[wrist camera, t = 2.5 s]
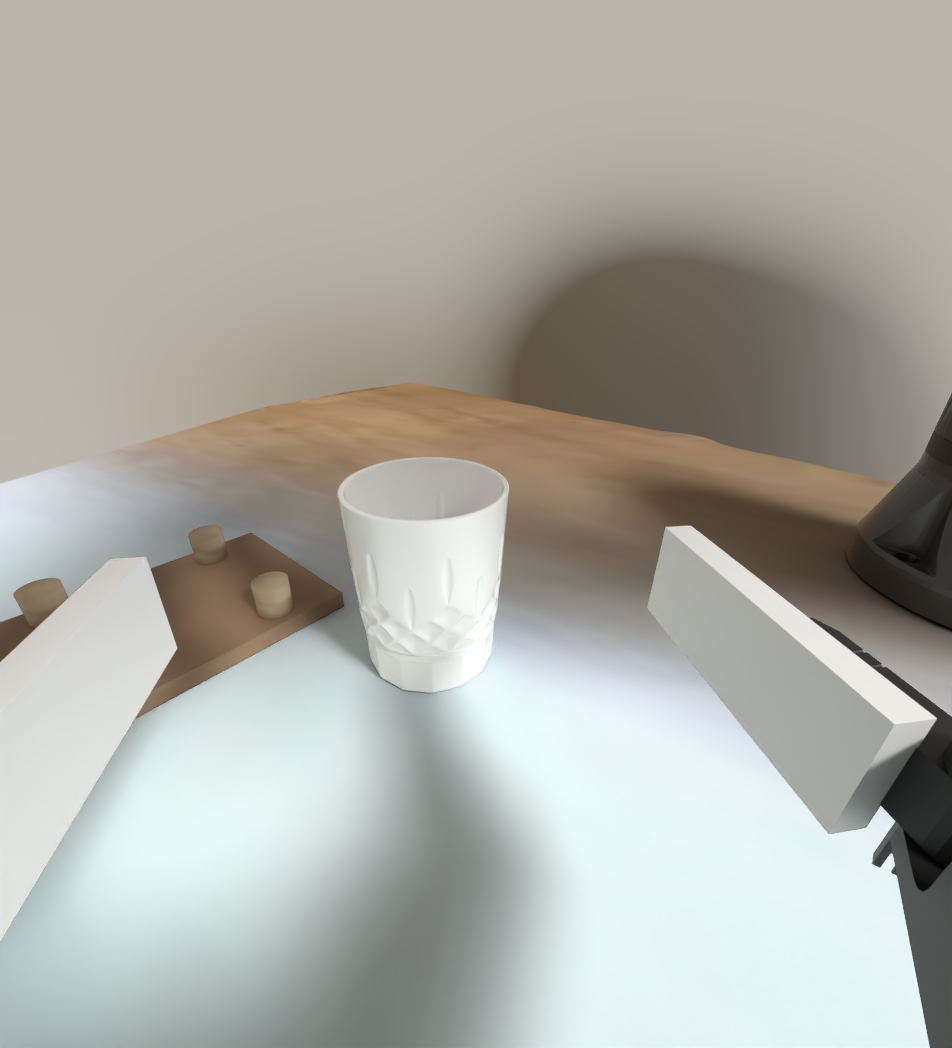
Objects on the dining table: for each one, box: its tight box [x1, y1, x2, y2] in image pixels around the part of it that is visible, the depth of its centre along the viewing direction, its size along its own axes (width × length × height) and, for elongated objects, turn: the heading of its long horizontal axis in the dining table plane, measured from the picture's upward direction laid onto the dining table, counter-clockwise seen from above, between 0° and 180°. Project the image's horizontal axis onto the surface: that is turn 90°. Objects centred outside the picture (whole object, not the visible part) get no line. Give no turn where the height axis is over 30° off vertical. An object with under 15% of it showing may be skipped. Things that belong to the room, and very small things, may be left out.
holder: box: [0, 526, 344, 718], centre depth 27 cm, size 16×12×3 cm
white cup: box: [338, 457, 509, 693], centre depth 24 cm, size 8×8×10 cm
